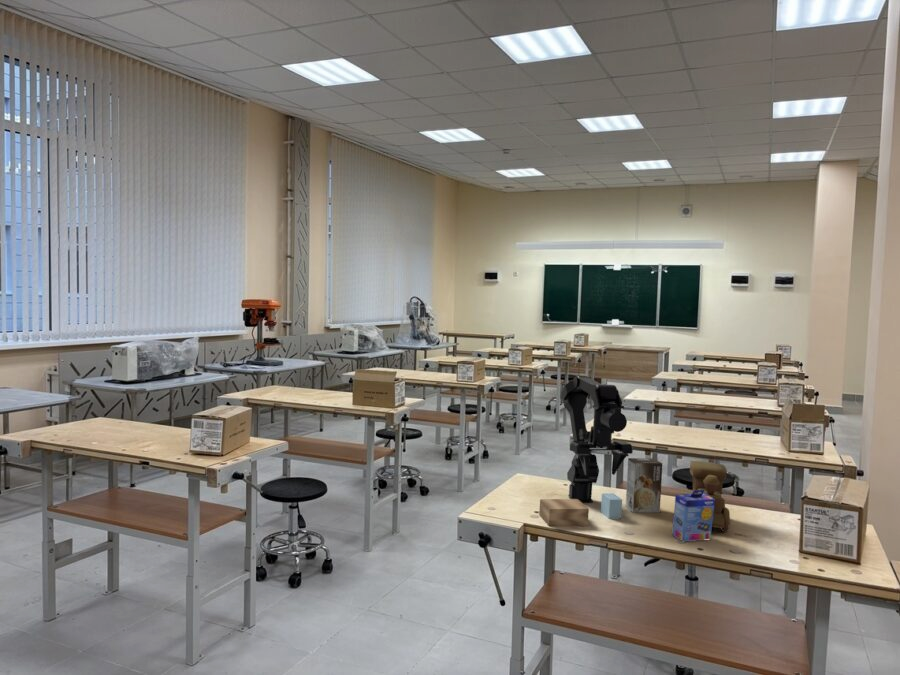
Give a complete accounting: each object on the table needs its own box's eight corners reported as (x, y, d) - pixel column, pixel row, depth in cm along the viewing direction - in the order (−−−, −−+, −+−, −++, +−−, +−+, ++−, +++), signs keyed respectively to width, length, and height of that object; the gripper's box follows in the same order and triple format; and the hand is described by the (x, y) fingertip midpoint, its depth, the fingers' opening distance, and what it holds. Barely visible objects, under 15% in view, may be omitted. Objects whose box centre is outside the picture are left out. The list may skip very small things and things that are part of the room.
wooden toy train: (684, 509, 202) (687, 459, 201) (721, 515, 199) (725, 463, 198) (688, 530, 183) (692, 475, 182) (730, 536, 180) (735, 480, 179)
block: (612, 512, 196) (613, 493, 196) (621, 518, 190) (622, 499, 190) (600, 512, 196) (602, 493, 195) (608, 518, 190) (610, 499, 189)
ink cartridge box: (683, 543, 173) (687, 491, 172) (670, 535, 178) (674, 485, 177) (712, 540, 176) (716, 490, 175) (699, 533, 181) (703, 484, 180)
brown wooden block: (576, 514, 192) (577, 498, 191) (587, 525, 183) (588, 508, 183) (539, 515, 190) (540, 499, 189) (548, 526, 181) (549, 509, 181)
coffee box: (651, 506, 204) (655, 458, 203) (660, 513, 197) (663, 463, 197) (624, 506, 203) (627, 457, 202) (632, 512, 196) (635, 462, 196)
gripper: (617, 420, 202) (614, 467, 203) (564, 419, 198) (561, 468, 199) (635, 427, 191) (631, 477, 192) (579, 427, 187) (576, 478, 188)
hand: (599, 474), depth 193 cm, fingers open, 9 cm apart
